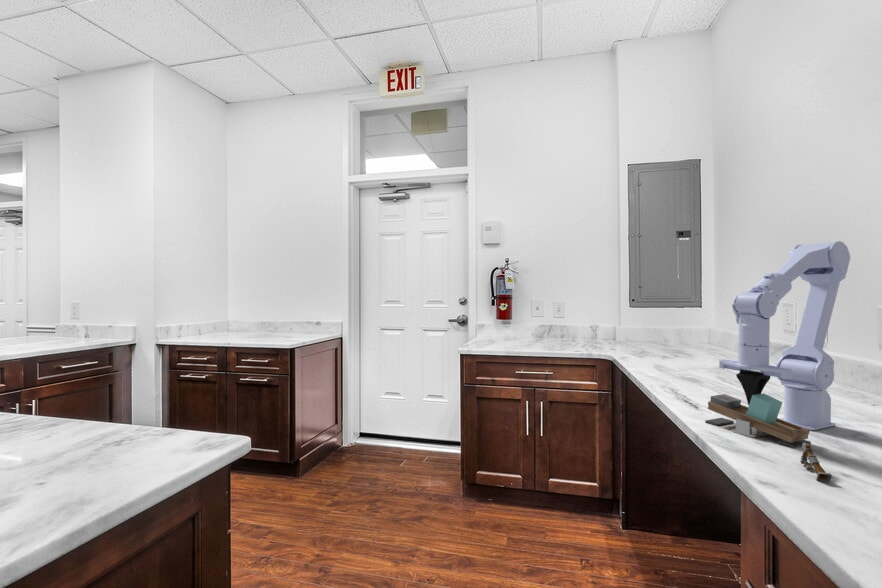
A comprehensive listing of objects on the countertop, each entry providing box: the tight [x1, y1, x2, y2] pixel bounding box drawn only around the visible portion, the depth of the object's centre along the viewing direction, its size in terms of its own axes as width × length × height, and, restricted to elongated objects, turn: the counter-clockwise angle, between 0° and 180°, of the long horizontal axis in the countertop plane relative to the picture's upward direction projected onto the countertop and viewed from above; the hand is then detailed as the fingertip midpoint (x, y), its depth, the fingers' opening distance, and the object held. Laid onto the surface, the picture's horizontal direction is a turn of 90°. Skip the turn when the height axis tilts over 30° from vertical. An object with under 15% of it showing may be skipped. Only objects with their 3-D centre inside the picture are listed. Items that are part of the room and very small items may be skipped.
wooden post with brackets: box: [799, 443, 833, 483], centre depth 78 cm, size 2×8×4 cm, turn 162°
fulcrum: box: [705, 417, 812, 449], centre depth 100 cm, size 8×19×3 cm, turn 24°
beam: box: [707, 393, 811, 443], centre depth 100 cm, size 6×18×4 cm, turn 24°
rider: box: [746, 392, 783, 424], centre depth 98 cm, size 4×4×5 cm
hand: (752, 405), depth 100 cm, fingers closed, pressing on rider
